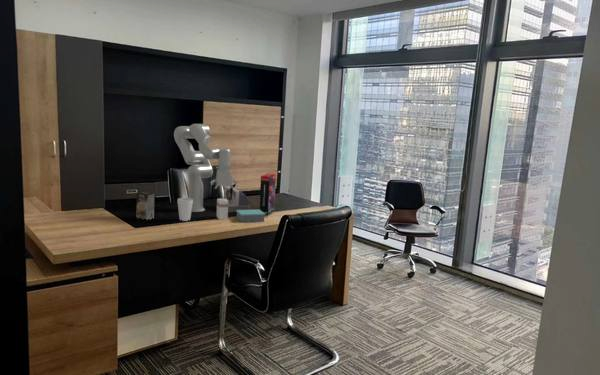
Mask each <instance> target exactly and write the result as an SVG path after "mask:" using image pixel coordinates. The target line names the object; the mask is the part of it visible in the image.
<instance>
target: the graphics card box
mask: <svg viewBox="0 0 600 375" xmlns="http://www.w3.org/2000/svg"><path fill="white" fill-rule="evenodd" d="M276 175H277V174H275V173H269V172H267V173H266V174H263V175H261V176H260V189H259V190H260V191H259V193H260V194H259V210H261V211H262V212H264V213H265V215H264V216H270V215H271V214H272V213H274V212H275V205H276V204H275V203H276V180H277V176H276Z"/></svg>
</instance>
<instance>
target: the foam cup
mask: <svg viewBox="0 0 600 375" xmlns="http://www.w3.org/2000/svg"><path fill="white" fill-rule="evenodd" d="M176 201H177V207H178V208H177V209H178V217H179V218H178V219H179V221H181V220H182V221H181V222H184V221H185V222H188V220H189V221H191V216H192V212H191V211H192V205H193V199H191V198H189V197H179V198H177V200H176Z"/></svg>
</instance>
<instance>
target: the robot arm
mask: <svg viewBox="0 0 600 375" xmlns="http://www.w3.org/2000/svg"><path fill="white" fill-rule="evenodd" d="M210 133H211V129H210V127H209V125H207V124H206V123H192V124H191V125H189V126H188V125H180V126H177V127H176V128H175V129H174V132H173V137H174V141H175V143H176V144H177V146H178V148H179V151H180V152H181V155H182V156H183V159H184V162H185V163H186V164H187V165H190V166H189V167H188V169H187V174H188V175H187V176H188V198H191V199H193V205H192V211H191V213H200V212H205V210H206V209H205V207H204V205H203V204H204V184H203V183H204V182H203V179H208V178H211V177H213V173H214V169H213V166H212V164H211V162H210V160H217V161H218V162H217V163H218V164H217V165H216V167H215V169H217V170H216V175H215V178H214V179H213V180H211V181H210V182H209V183H210V185H211V187H212V188H214V189H213V190H214V191H213V192H214V194H215V196H218V187H230V194H231V195H232V193H233V189H235V187H236V186H237V185H238V181H237V180H234V179H233V172H232V170H231V149H229V148H222V147H209V143H210V142H211V136H210ZM188 139H193V140H194V139H195V141H196V142H197V143H198V150H195V149H194V147H193V145H192V143H191V142H190V141H189V140H188Z"/></svg>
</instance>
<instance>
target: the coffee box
mask: <svg viewBox="0 0 600 375" xmlns="http://www.w3.org/2000/svg"><path fill="white" fill-rule="evenodd" d="M135 206H136V215H135V216H136V217H137V218H136V219H140V218H141V220H144V219H146V221H148V219H149V220H153V219H154V218H155V193H154V192H149V191H145V190H143V191H138V192H136V205H135ZM152 218H153V219H152Z"/></svg>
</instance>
